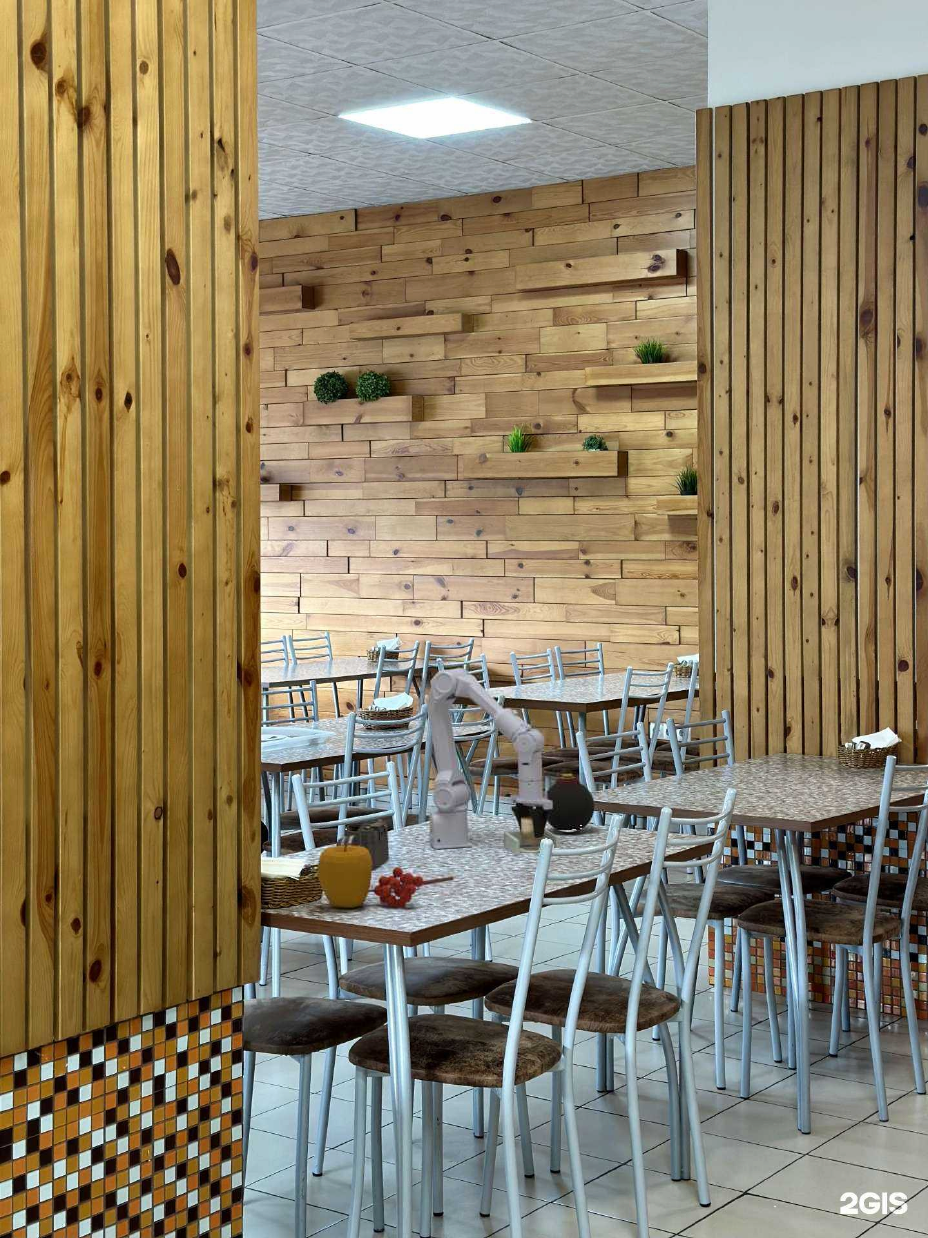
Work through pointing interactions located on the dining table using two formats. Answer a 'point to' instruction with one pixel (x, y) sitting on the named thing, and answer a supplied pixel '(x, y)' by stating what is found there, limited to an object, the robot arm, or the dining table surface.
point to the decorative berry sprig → (401, 887)
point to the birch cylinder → (528, 832)
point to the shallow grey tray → (515, 840)
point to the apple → (345, 875)
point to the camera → (370, 841)
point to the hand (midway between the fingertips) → (532, 836)
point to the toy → (569, 804)
